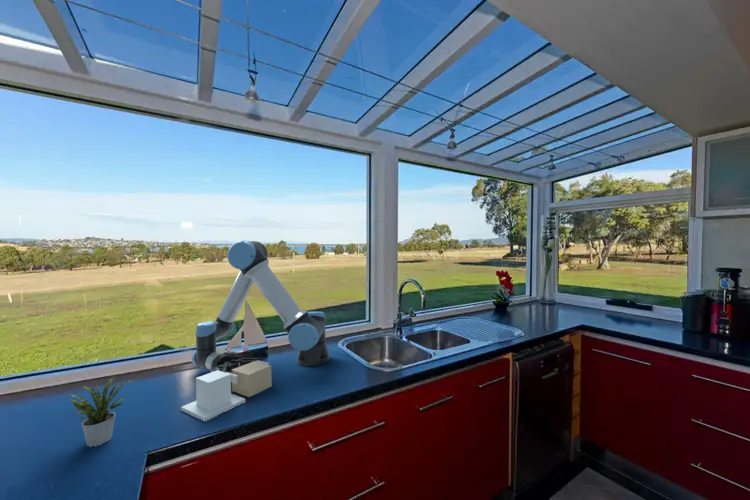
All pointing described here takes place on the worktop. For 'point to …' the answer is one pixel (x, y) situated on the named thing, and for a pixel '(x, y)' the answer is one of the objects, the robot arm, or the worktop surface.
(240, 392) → the beige cubic block
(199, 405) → the white serrated base block
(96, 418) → the house plant
